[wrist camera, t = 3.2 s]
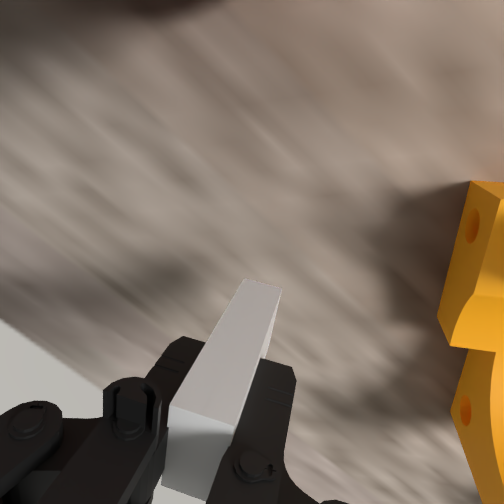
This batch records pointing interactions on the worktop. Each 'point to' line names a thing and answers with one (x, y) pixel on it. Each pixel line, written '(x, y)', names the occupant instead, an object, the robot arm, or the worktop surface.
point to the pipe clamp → (479, 334)
